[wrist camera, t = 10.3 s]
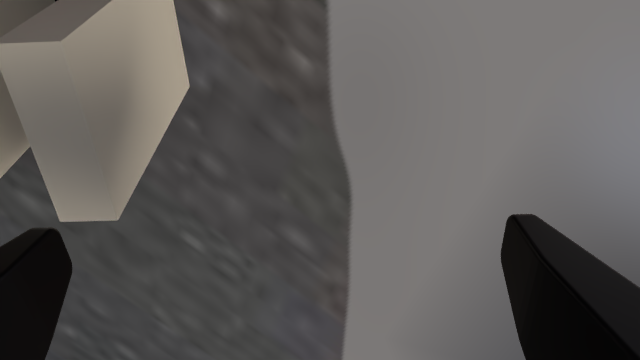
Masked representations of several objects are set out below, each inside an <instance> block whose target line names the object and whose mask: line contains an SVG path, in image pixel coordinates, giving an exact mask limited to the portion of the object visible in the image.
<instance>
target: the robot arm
mask: <svg viewBox="0 0 640 360" xmlns="http://www.w3.org/2000/svg"><path fill="white" fill-rule="evenodd" d="M501 263H502V267H503V272H504V277H505V281H506V285H507V289H508V294H509V298H510V303H511V307H512V311H513V316H514V320H515V324H516V329H517V333H518V337H519V340H520V344H521V347H522V350H523V353H524V356H525V358H526V360H640V287H638V286H637V285H635V284H633V283H632V282H631V281H629V280H628V279H627V278H625V277H624V276H622V275H621V274H619V273H618V272H616V271H615V270H614V269H612V268H611V267H609V266H608V265H606V264H605V263H604V262H602V261H601V260H599V259H598V258H596V257H595V256H593V255H592V254H591V253H589V252H588V251H586V250H585V249H583V248H582V247H580V246H579V245H578V244H576V243H575V242H573V241H572V240H570V239H569V238H567V237H566V236H565V235H563V234H562V233H560V232H559V231H557V230H556V229H555V228H553V227H552V226H550V225H549V224H547V223H546V222H544V221H543V220H542V219H540V218H539V217H537V216H535V215H533V214H516V215H515V214H513V215H511V216H510V217H508V219H507V222H506V227H505V232H504V238H503V243H502V248H501ZM71 275H72V262H71V259H70V257H69V254H68V252H67V249H66V247H65V244H64V242H63V239H62V237H61V235H60V233H59V231H58V230H57V229H55V228H52V227H48V228H32V229H29V230H27V231H26V232H24V233H22V234H21V235H19V236H18V237H16V238H14V239H13V240H11V241H9V242H8V243H6V244H4V245H3V246H1V247H0V360H45V357H46V355H47V352H48V350H49V347H50V344H51V341H52V338H53V335H54V332H55V328H56V325H57V322H58V318H59V315H60V312H61V308H62V305H63V302H64V298H65V295H66V292H67V288H68V285H69V282H70V278H71Z"/></svg>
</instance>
